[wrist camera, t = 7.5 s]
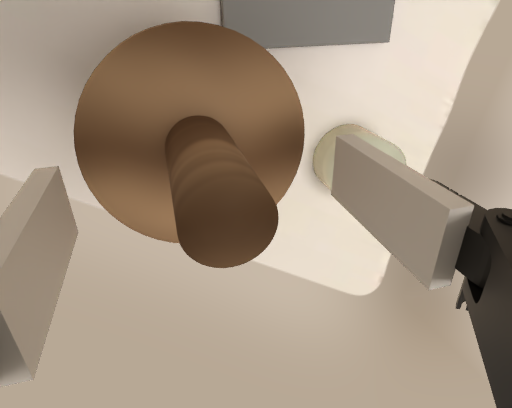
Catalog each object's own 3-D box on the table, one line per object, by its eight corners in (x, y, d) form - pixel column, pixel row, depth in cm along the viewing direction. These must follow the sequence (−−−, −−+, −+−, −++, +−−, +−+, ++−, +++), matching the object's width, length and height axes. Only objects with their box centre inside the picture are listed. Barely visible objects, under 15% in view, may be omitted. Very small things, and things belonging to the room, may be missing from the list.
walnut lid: (45, 27, 15) (-52, 43, 7) (300, 15, 17) (414, 19, 10) (107, 249, 20) (86, 385, 13) (295, 217, 22) (368, 316, 15)
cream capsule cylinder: (314, 127, 31) (341, 145, 27) (377, 121, 32) (412, 137, 28) (311, 190, 34) (335, 216, 30) (368, 182, 35) (399, 205, 31)
